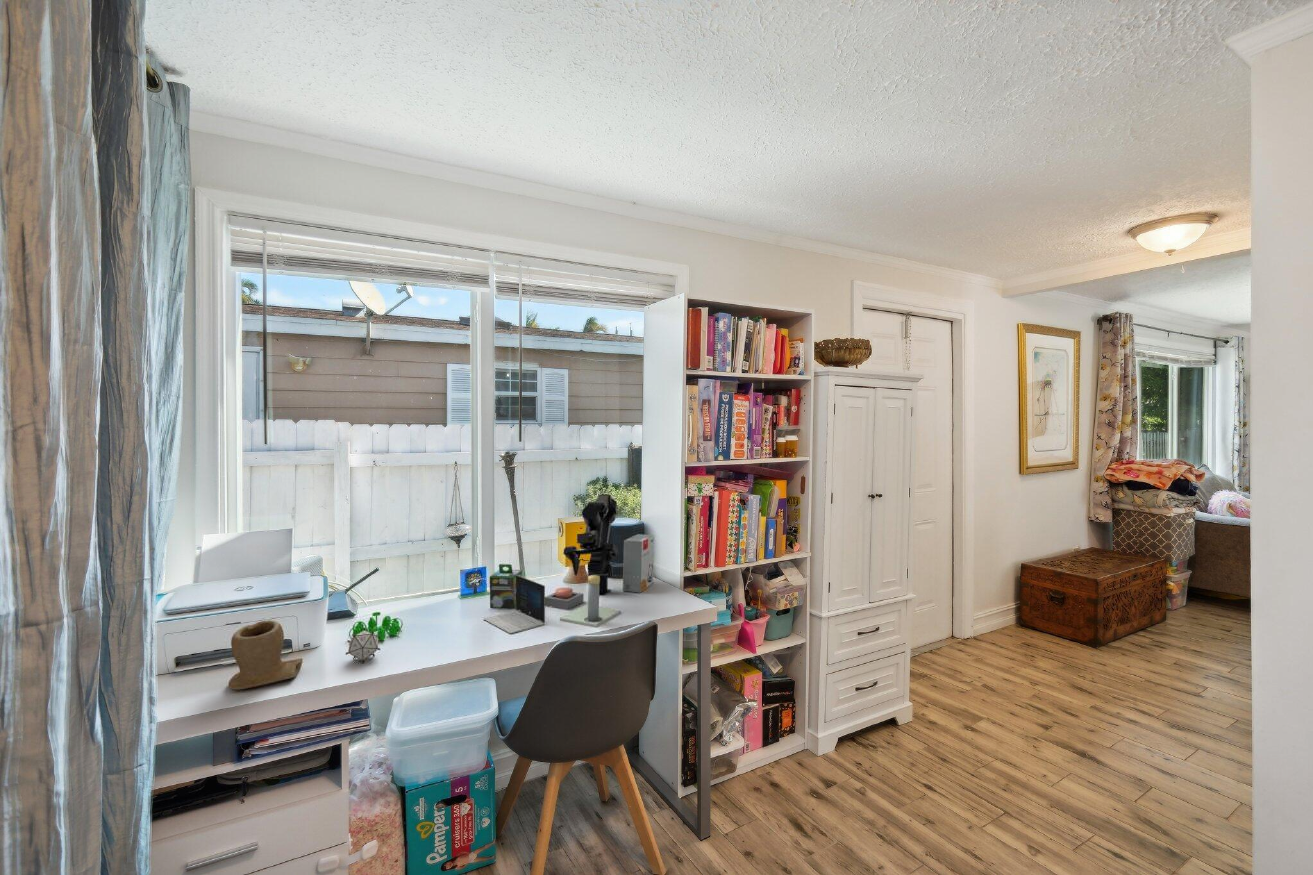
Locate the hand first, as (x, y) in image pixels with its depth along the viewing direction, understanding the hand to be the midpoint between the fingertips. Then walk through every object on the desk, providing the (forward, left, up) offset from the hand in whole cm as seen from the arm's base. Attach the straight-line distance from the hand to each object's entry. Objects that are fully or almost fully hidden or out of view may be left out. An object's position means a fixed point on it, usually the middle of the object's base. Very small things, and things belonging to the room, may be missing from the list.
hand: (587, 574), depth 194 cm
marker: (+7, +7, -12) cm, 16 cm away
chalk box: (+6, -31, -14) cm, 34 cm away
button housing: (-4, -13, -13) cm, 19 cm away
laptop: (+19, -16, -14) cm, 29 cm away
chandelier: (+47, -46, -14) cm, 67 cm away
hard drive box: (-35, +1, -14) cm, 38 cm away
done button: (-4, -13, -11) cm, 17 cm away
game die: (+61, -33, -14) cm, 70 cm away
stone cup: (+81, -42, -14) cm, 92 cm away
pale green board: (+3, +3, -13) cm, 14 cm away
